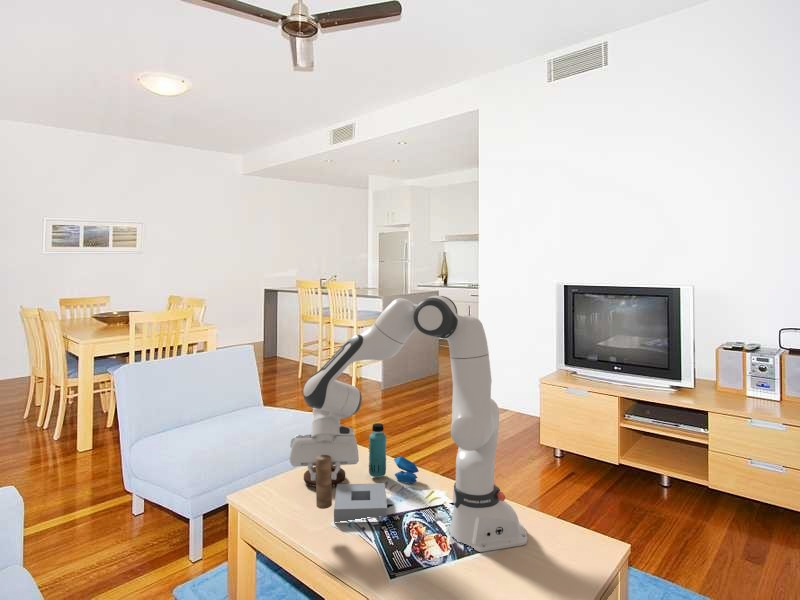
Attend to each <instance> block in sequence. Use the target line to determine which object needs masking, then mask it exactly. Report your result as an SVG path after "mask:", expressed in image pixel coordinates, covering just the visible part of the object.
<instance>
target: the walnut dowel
mask: <svg viewBox="0 0 800 600" xmlns="http://www.w3.org/2000/svg"><path fill="white" fill-rule="evenodd" d="M315 487H316V488H315V493H316V494H315V497H316V498H315V500H316V501H315V502H316V507H317V508H318V509H320V510H326V509H329V508H330V507H332V505H333V503H332V502H333V499H332V498H333V496H332V495H333V493H332V492H333V491H332V490H333V489H332V482H331V456H328V455H321V456H318V457H316V486H315Z"/></svg>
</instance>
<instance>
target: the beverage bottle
mask: <svg viewBox="0 0 800 600" xmlns="http://www.w3.org/2000/svg"><path fill="white" fill-rule="evenodd" d="M371 430H372V433H371V434H370V435H369V437H368V438H369V442H368V444H369V445H368V452H369V453H368V460H369V461H368V473H369V476H371V477H374V478H380V477H381V478H382V477H383V476H385V475H386V474H387V435H386V434H385V432H383V431H384V430H385V429H384V424H383V423H378V422H377V423H376V422H375V423H373V424H372V429H371Z"/></svg>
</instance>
